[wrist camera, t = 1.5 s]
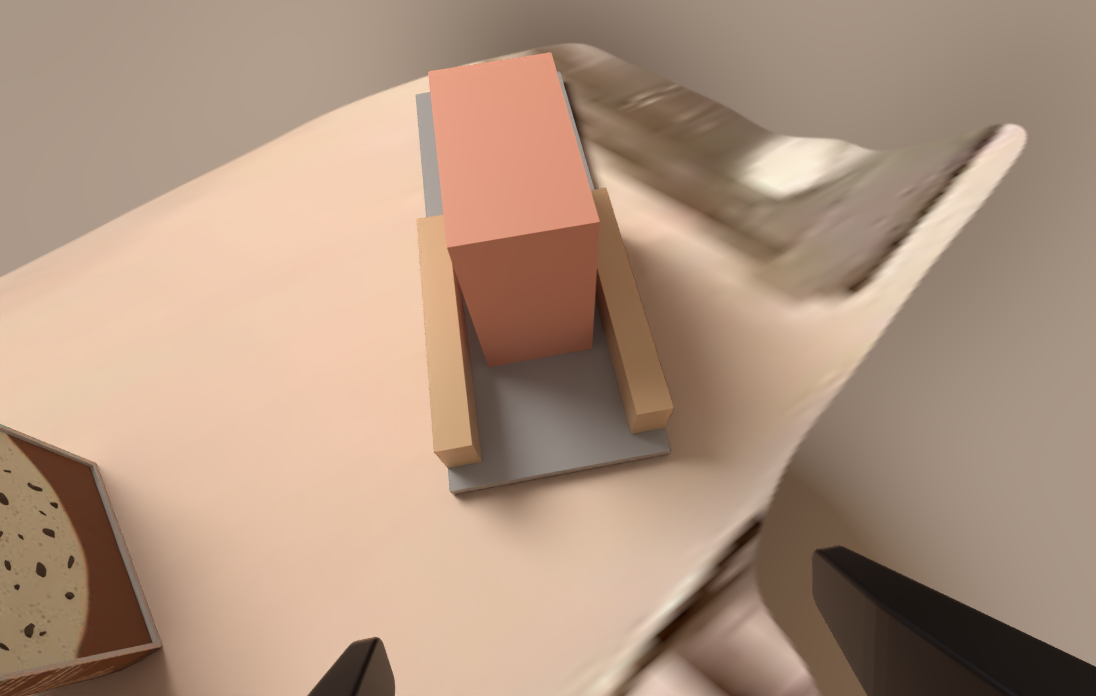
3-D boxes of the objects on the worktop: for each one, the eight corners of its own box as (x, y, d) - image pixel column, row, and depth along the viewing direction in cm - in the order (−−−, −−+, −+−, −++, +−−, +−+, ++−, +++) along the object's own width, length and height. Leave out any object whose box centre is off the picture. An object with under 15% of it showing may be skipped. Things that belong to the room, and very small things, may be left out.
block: (591, 348, 25) (599, 221, 17) (488, 367, 25) (446, 247, 17) (557, 208, 29) (550, 52, 21) (468, 222, 29) (428, 71, 21)
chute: (668, 454, 23) (681, 431, 20) (452, 494, 23) (435, 477, 20) (560, 80, 35) (559, 34, 32) (418, 102, 35) (404, 58, 32)
